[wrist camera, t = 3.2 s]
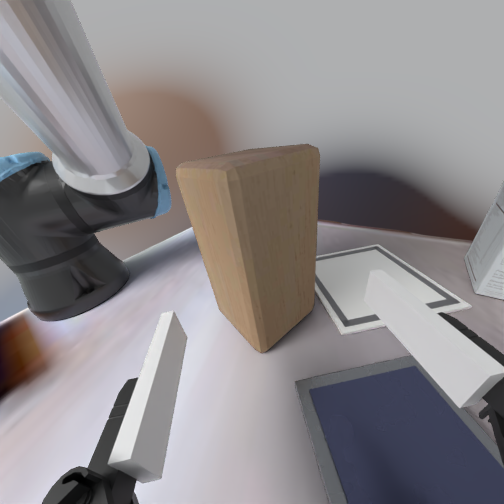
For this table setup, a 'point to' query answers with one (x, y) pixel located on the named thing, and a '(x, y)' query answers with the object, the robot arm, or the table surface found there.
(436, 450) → the ink pad
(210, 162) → the wooden block
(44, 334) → the table surface
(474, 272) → the supplement box
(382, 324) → the mat
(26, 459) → the table surface
